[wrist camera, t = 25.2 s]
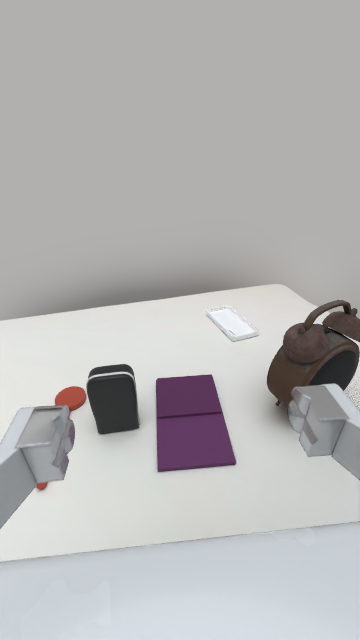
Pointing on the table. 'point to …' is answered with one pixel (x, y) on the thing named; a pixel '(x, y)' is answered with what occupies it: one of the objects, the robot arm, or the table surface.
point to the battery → (113, 398)
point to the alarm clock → (316, 353)
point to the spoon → (73, 400)
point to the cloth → (190, 424)
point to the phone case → (232, 323)
